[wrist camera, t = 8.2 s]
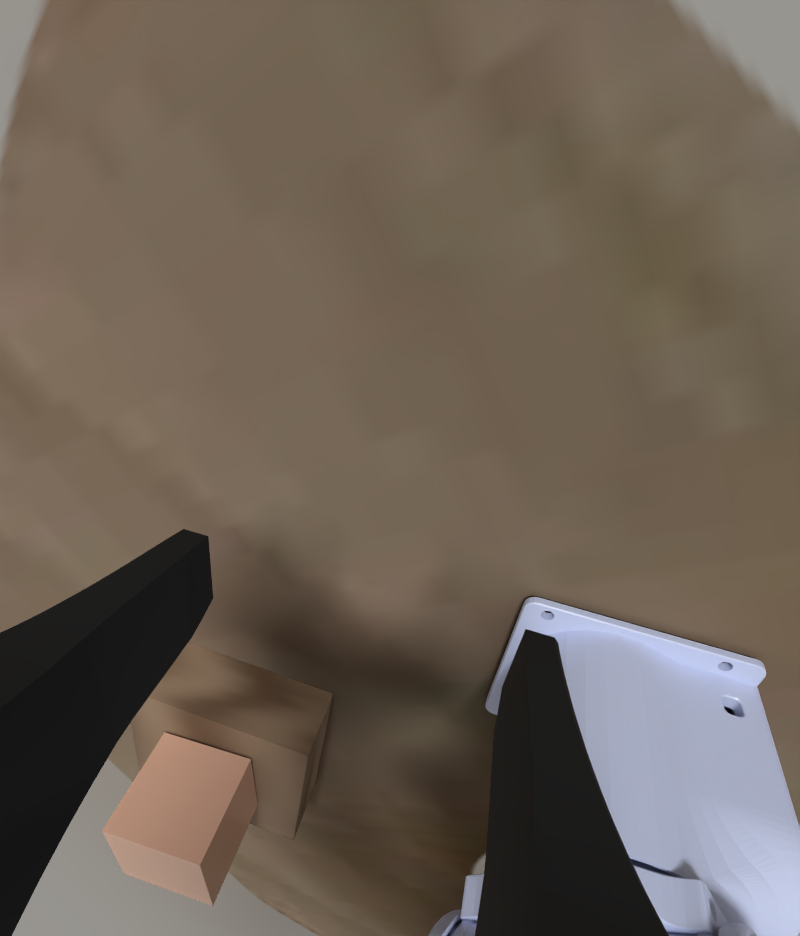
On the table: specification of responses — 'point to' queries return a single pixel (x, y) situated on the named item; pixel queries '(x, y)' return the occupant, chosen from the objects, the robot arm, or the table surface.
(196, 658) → the walnut block
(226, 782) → the terracotta cube
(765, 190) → the table surface
